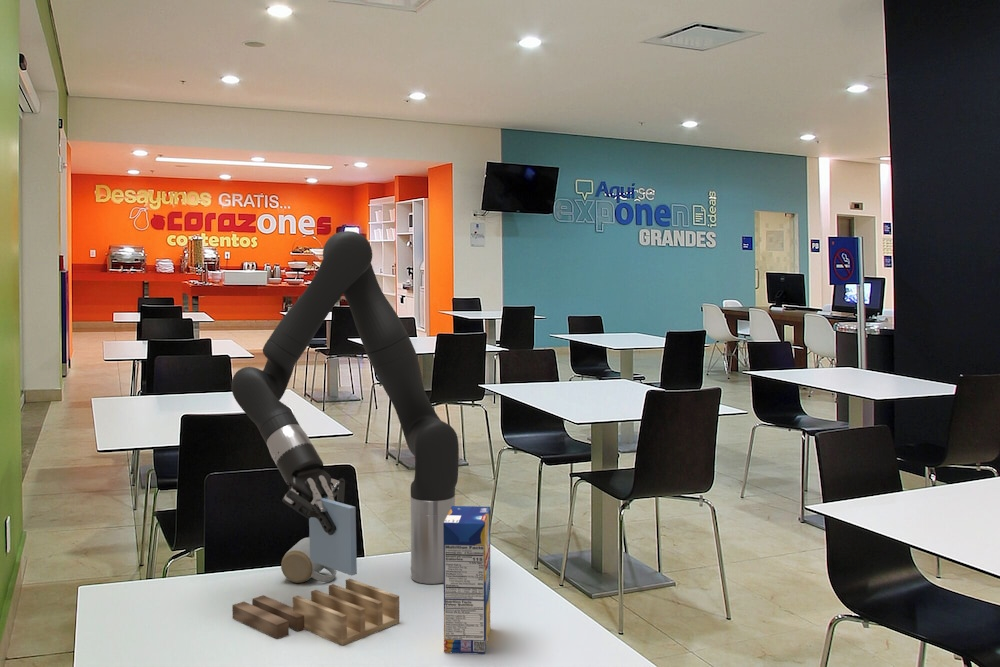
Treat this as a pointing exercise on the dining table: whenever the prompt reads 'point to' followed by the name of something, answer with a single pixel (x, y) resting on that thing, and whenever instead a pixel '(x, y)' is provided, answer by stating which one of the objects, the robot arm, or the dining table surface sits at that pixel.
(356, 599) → the rack
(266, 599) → the stand
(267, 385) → the robot arm
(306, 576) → the ceramic mug
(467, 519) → the beverage box
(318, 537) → the pale blue board
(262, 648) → the dining table surface
